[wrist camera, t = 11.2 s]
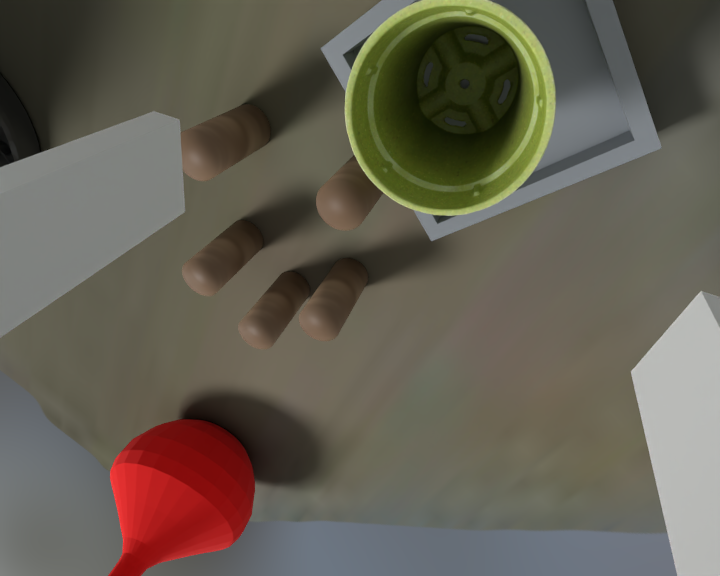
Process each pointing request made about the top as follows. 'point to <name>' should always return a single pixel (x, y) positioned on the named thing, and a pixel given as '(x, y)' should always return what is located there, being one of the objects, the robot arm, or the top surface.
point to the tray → (573, 95)
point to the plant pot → (450, 106)
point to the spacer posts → (243, 239)
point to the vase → (180, 493)
